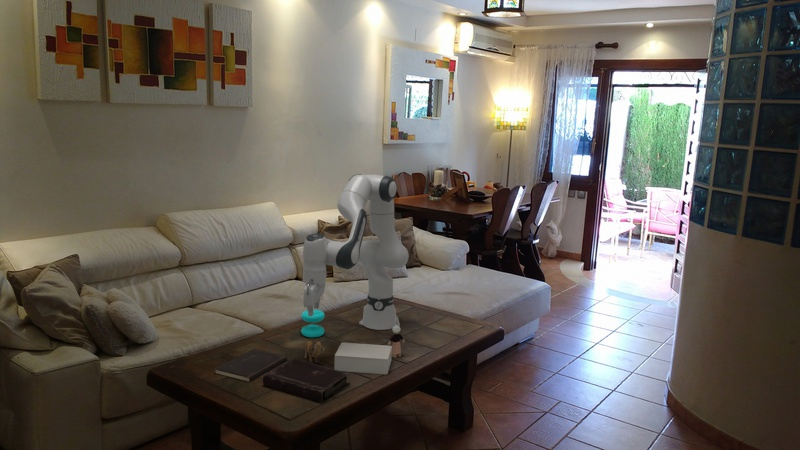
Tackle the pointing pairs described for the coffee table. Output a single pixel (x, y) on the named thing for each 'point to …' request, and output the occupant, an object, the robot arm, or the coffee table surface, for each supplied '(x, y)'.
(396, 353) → the grandmother figurine
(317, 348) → the lion figurine
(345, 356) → the pedestal
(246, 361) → the hardcover book
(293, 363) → the diary
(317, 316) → the donuts
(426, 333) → the coffee table surface
